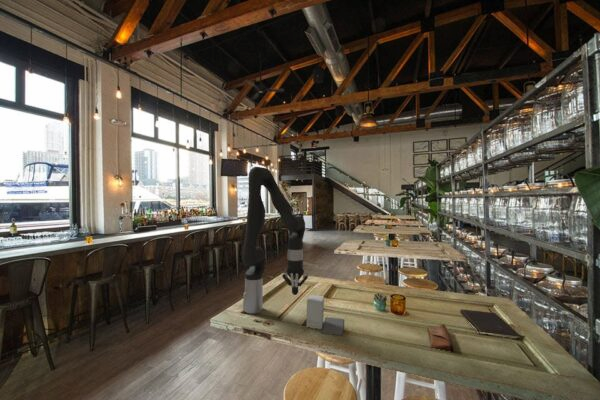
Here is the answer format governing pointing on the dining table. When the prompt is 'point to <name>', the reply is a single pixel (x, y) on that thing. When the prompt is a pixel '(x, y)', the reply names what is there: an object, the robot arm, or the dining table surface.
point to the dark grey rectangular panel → (333, 326)
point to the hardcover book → (488, 323)
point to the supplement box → (315, 311)
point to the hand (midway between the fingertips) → (295, 294)
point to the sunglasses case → (440, 338)
